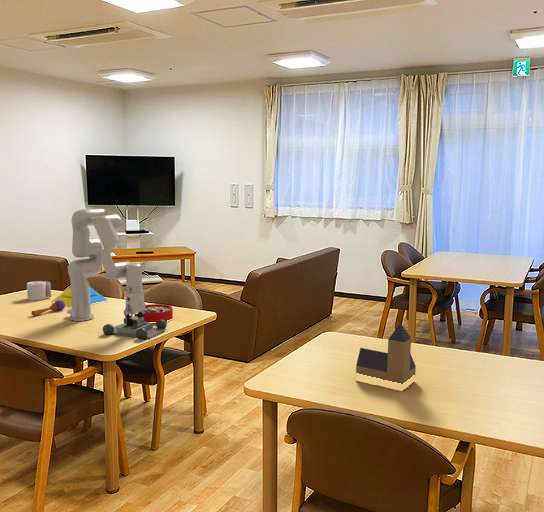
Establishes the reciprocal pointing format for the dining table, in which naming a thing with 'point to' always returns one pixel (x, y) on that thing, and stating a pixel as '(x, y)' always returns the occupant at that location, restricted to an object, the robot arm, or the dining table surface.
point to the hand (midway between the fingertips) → (135, 323)
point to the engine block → (136, 322)
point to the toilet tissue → (38, 290)
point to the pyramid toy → (67, 297)
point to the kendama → (50, 308)
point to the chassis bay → (141, 332)
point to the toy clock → (157, 312)
